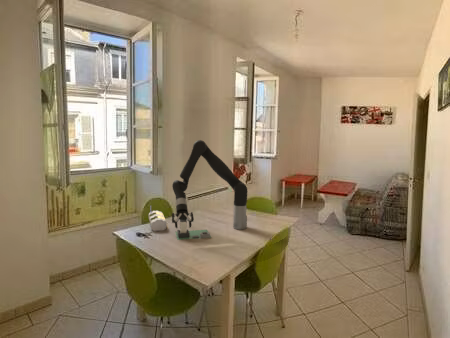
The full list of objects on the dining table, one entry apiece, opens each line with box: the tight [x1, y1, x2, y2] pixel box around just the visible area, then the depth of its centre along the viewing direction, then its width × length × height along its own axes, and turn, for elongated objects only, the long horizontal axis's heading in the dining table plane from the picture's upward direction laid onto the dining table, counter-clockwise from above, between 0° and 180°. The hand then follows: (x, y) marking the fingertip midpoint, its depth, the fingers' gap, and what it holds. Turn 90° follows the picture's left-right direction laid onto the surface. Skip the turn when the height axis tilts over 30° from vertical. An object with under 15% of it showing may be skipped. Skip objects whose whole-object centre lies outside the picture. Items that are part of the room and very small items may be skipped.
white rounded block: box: [148, 205, 167, 231], centre depth 233 cm, size 25×10×13 cm, turn 18°
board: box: [174, 228, 212, 241], centre depth 210 cm, size 22×16×4 cm
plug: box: [179, 219, 188, 233], centre depth 206 cm, size 4×4×11 cm
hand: (183, 227), depth 205 cm, fingers open, 8 cm apart
